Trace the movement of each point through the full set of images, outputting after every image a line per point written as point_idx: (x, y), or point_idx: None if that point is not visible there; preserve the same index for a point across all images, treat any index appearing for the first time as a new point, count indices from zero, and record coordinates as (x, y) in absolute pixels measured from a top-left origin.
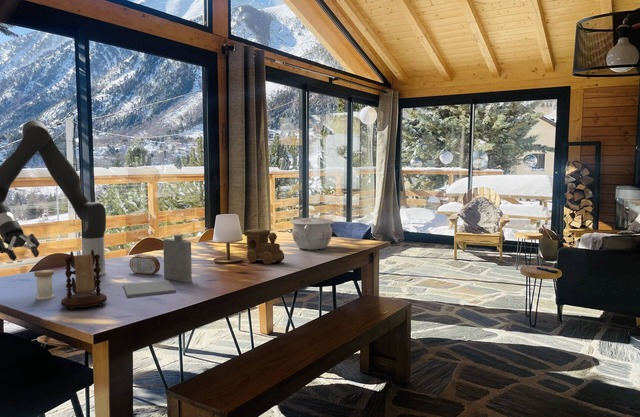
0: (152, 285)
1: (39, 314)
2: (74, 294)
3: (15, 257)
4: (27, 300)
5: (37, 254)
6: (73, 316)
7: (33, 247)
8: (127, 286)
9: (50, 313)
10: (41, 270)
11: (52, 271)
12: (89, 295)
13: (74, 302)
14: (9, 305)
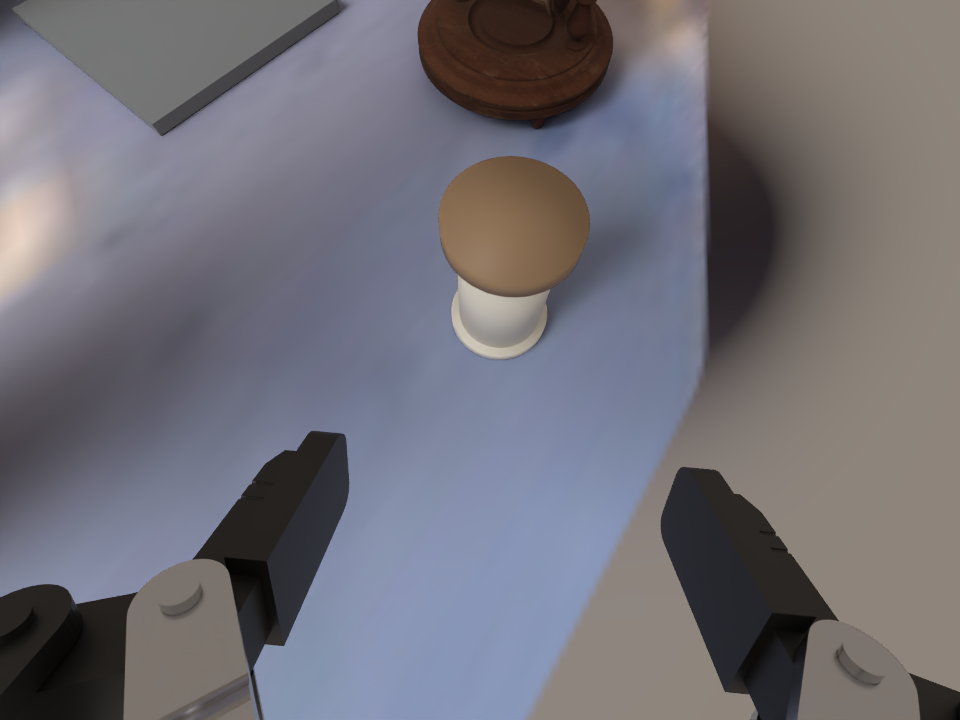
0: (139, 9)
1: (690, 115)
2: (518, 68)
3: (699, 469)
4: (584, 353)
5: (335, 436)
6: (632, 7)
7: (268, 549)
8: (188, 84)
9: (657, 92)
10: (488, 278)
11: (476, 169)
12: (500, 6)
13: (594, 6)
14: (694, 349)
